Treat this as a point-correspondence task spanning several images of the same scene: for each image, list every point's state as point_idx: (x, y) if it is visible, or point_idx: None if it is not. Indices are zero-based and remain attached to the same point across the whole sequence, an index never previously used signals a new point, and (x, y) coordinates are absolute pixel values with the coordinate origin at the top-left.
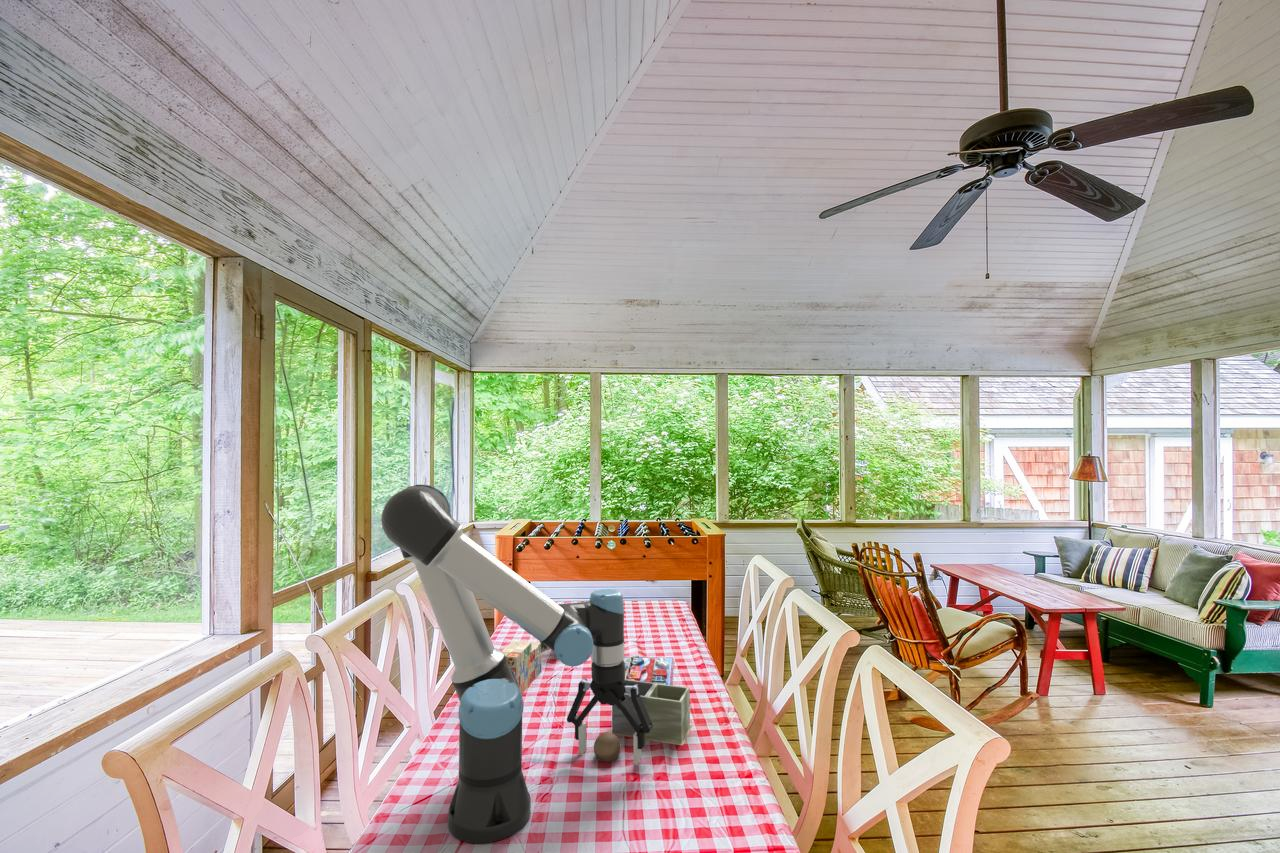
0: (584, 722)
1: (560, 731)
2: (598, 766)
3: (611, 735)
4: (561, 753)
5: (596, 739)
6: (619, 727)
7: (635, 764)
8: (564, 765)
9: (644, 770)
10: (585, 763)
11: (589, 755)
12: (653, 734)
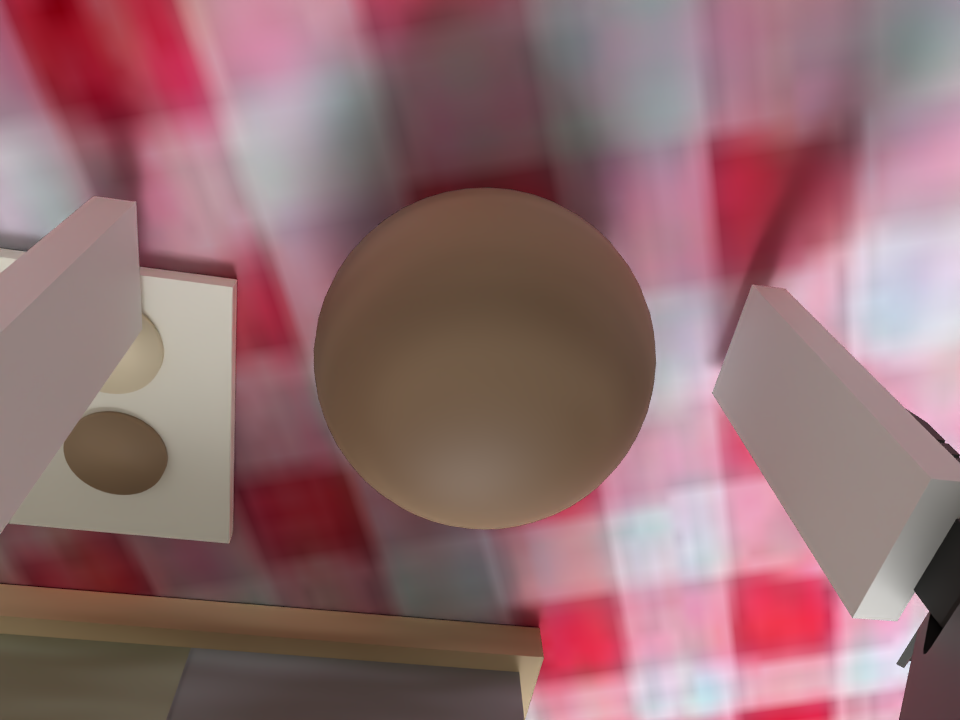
0: (879, 611)
1: None
2: (550, 182)
3: (424, 441)
4: (955, 347)
5: (640, 388)
6: (449, 713)
7: (110, 205)
8: (926, 141)
9: (26, 187)
10: (698, 215)
11: (673, 358)
12: (102, 678)
